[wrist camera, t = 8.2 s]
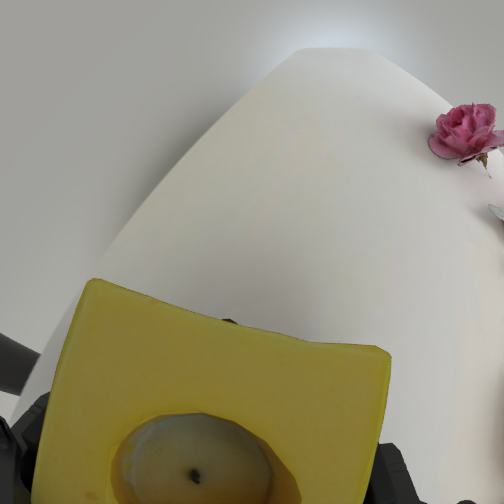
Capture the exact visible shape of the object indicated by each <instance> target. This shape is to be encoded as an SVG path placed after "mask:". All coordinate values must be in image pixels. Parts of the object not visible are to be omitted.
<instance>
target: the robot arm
mask: <svg viewBox="0 0 504 504" xmlns="http://www.w3.org/2000/svg"><path fill="white" fill-rule="evenodd" d="M49 396H50V392H48V393H46V394H44V395H42V396H40V397H39V398H38V399H37V400H36V401H35V402H34V405H32V406H31V407H30V408H29V410H27V411H26V412H25V413H24V414H23V415H22V416H21V418H20V419H19V420H18V421H17V422H16V423H15V424H14V425H13V426H12V427H11V429H10V428H9V426H8V424H7V423H6V420H5V419H4V418H2V417H1V416H0V504H31V500H30V499H31V492H32V484H33V478H34V471H35V465H36V459H37V453H38V447H39V442H40V437H41V432H42V427H43V422H44V418H45V413H46V409H47V404H48V400H49ZM363 504H427V503H425V502H422V501H420V500H419V498H418V496H417V494H416V491H415V488H414V485H413V483H412V480H411V477H410V475H409V472H408V470H407V467H406V464H405V463H404V459H403V457H402V454H401V452H400V450H399V449H398V448H397V447H396V446H395V445H394V444H393V443H386V444H379V441H378V445H377V449H376V452H375V457H374V462H373V466H372V471H371V475H370V479H369V483H368V487H367V491H366V494H365V498H364V501H363ZM457 504H476V503H475V502H473V501H471V500H464V501H460V502H459V503H457Z"/></svg>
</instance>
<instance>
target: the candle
mask: <svg viewBox="0 0 504 504" xmlns="http://www.w3.org/2000/svg"><path fill="white" fill-rule="evenodd" d="M391 358H392V357H391V356H390V354H389V353H388V352H386V351H384V350H382V349H381V348H379V347H377V346H372V345H357V344H340V343H315V342H307V341H304V340H300V339H297V338H293V337H290V336H286V335H283V334H280V333H275V332H270V331H265V330H260V329H255V328H251V327H246V326H242V325H238V324H237V323H236V322H234V321H233V320H231V319H222V320H219V319H215V318H212V317H208V316H205V315H201V314H198V313H195V312H191V311H188V310H185V309H182V308H180V307H177V306H174V305H171V304H168V303H165V302H162V301H160V300H157V299H155V298H152V297H150V296H147V295H144V294H141V293H138V292H135V291H132V290H129V289H126V288H123V287H121V286H118V285H115V284H113V283H110V282H107V281H105V280H102V279H95V278H93V279H91V280H89V281H88V282H87V284H86V286H85V288H84V291H83V293H82V295H81V298H80V300H79V303H78V305H77V308H76V311H75V314H74V316H73V319H72V322H71V325H70V328H69V331H68V334H67V337H66V340H65V343H64V346H63V349H62V352H61V355H60V358H59V361H58V365H57V368H56V372H55V376H54V380H53V384H52V388H51V392H50V396H49V400H48V404H47V409H46V413H45V418H44V422H43V427H42V432H41V437H40V442H39V447H38V453H37V459H36V465H35V471H34V478H33V484H32V492H31V499H30V500H31V504H363V501H364V498H365V494H366V491H367V487H368V483H369V479H370V475H371V471H372V466H373V462H374V457H375V452H376V449H377V445H378V441H379V437H380V432H381V428H382V424H383V419H384V414H385V408H386V402H387V396H388V389H389V382H390V374H391Z"/></svg>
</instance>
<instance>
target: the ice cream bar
mask: <svg viewBox="0 0 504 504" xmlns="http://www.w3.org/2000/svg"><path fill="white" fill-rule="evenodd" d="M489 209H490V210H491V212H492V213H494V214H495V215H496V216H497V217H498V218H500V219H502V220H504V212H503V211H502V210H501V209H499V208H498V207H496V206H494V205H492V204H489Z"/></svg>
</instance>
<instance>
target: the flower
mask: <svg viewBox="0 0 504 504" xmlns="http://www.w3.org/2000/svg"><path fill="white" fill-rule="evenodd" d="M495 114H496V108H494V107H493V106H491V105H490V104H477V105H475V104H474V103H472V105H460V106H458V107H456V108H452V109H451V110H450V111H449V112H448V113H447V115H445V114H441V115H440V116H439V117H438V119H437V120H436V124H437V128H438V132H437V133H435V134H432V138H430V139H429V144H430V149H431V150H432V151H433V152H434V153H436V154H437V155H438V156H440V157H442V158H444V159H453V158H461V159H460V161H459V163H458V164H457V165H458V166H462V165H464V164H466V163H468V162H470V161H472V160H474V159H476V160H477V161H478V162H479V160H481V161H482V162H483V166H484V167H485V168H486V165H487V158H488V156H487V153H488V152H490V151H492V150H495V149H497V148H498V146H499V147H502V146H504V130H503V131H493V127H494V126H495V125H493V124H494V122H495V116H496V115H495ZM479 163H480V162H479ZM486 170H487V169H486ZM488 174H489V173H488ZM489 176H490V175H489ZM490 178H491V177H490Z"/></svg>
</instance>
